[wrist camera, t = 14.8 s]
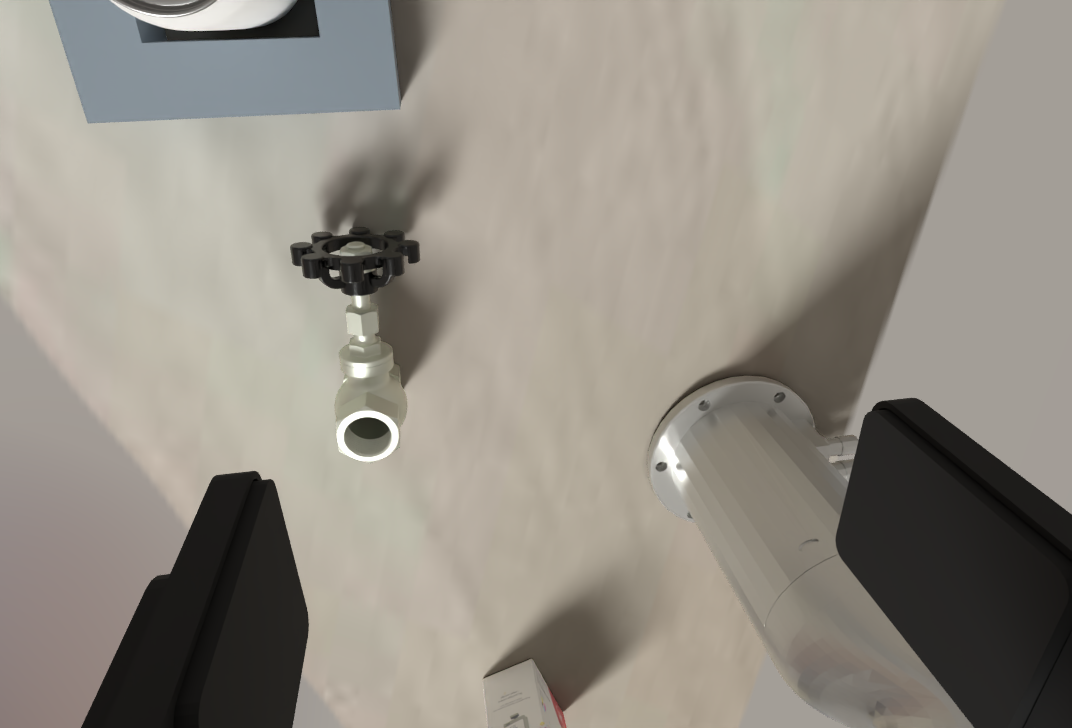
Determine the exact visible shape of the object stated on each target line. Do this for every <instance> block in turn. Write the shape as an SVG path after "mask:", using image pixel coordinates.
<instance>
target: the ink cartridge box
mask: <svg viewBox="0 0 1072 728" xmlns="http://www.w3.org/2000/svg"><path fill="white" fill-rule="evenodd" d="M482 682H483V692H484V701H485V710H486V719H487V727H488V728H566V724H565V719H564V715H563V712H562V711H561V709H560V707H559V705H558V704H557V702H556V700H555V698H554V696H553V695H552V693H551V691H550V689H549V687H548V686H547V684H546V682H545V680H544V679H543V677H542V675H541V673H540V672H539V670H538V668H537V666H536V664H535V663H534V661H533V659H529V660H527V661H525V662H522V663H520V664H517V665H515V666H513V667H510V668H508V669H505V670H503V671H501V672H498V673H496V674H493V675H491V676H489V677H486V678H484V679H483V681H482Z"/></svg>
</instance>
